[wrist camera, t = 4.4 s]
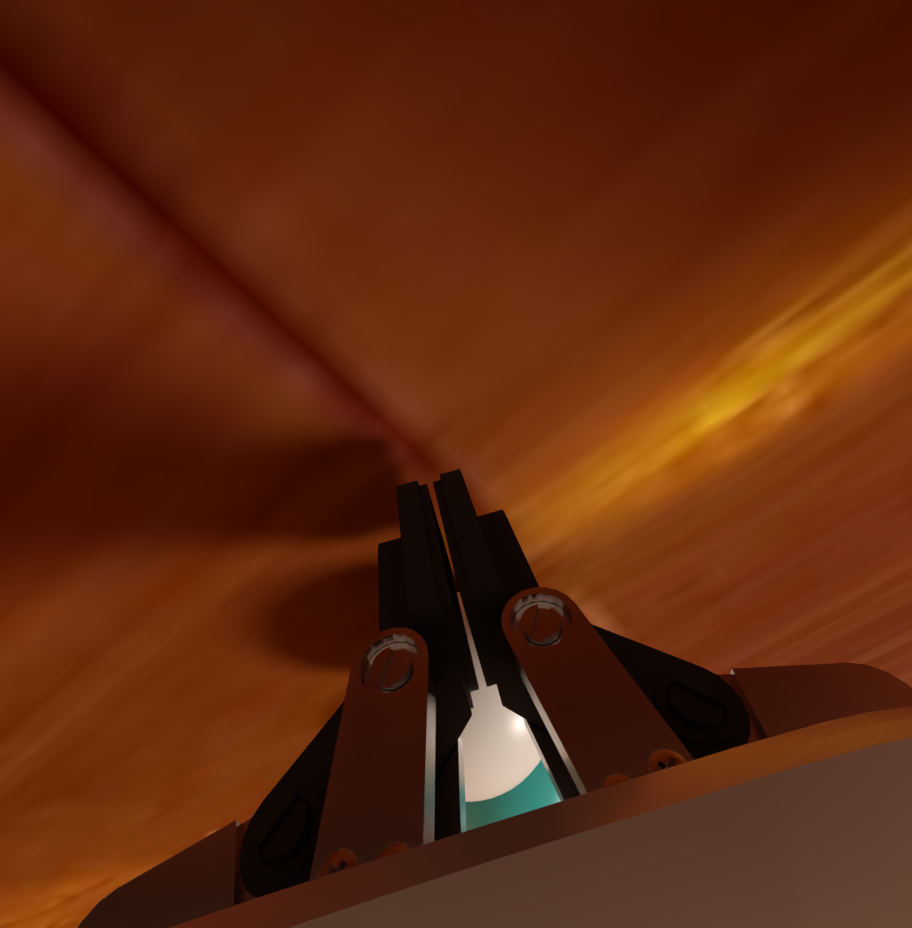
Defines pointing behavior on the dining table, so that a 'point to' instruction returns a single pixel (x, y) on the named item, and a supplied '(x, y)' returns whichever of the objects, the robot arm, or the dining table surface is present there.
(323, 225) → the dining table surface
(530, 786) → the object ball
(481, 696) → the glossy white ball
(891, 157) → the dining table surface
